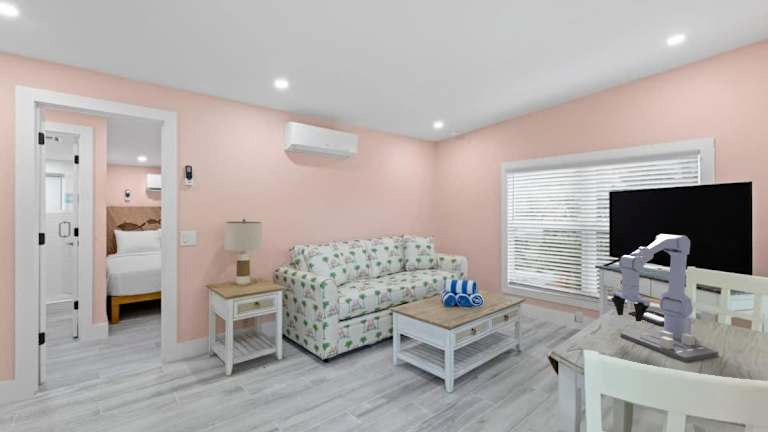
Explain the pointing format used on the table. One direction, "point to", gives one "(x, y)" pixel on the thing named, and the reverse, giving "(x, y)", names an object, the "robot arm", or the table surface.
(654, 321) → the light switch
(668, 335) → the handle
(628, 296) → the robot arm
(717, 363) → the table surface
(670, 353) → the breaker panel
